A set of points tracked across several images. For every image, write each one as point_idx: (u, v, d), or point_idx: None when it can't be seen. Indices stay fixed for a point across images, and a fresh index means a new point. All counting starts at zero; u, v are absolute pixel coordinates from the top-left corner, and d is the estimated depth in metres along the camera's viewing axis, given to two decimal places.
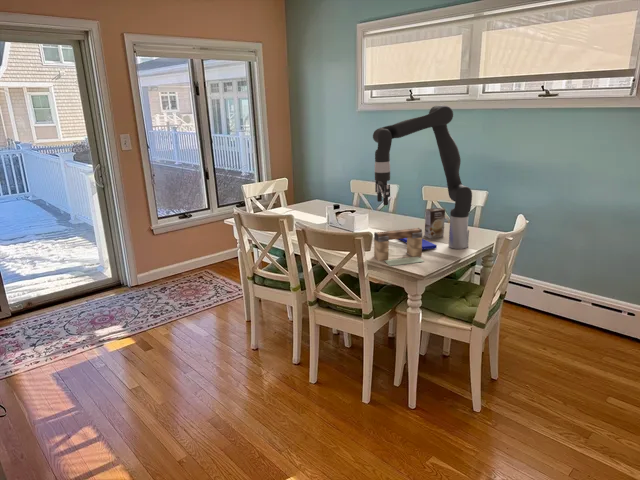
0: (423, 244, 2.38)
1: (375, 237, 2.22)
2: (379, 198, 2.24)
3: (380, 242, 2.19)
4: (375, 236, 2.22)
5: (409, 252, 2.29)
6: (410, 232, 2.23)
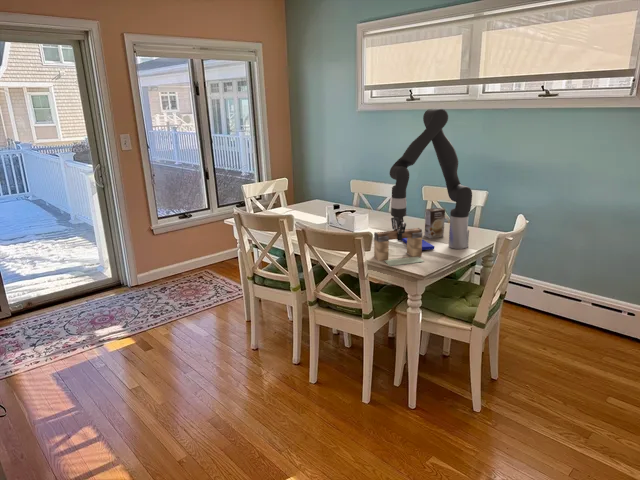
0: None
1: (375, 237, 2.22)
2: None
3: (380, 242, 2.19)
4: (375, 236, 2.22)
5: (409, 252, 2.29)
6: (410, 232, 2.23)
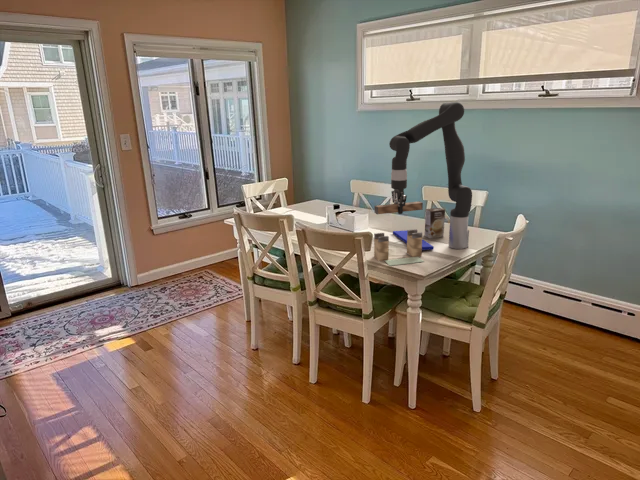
0: None
1: (375, 210, 2.18)
2: None
3: (380, 242, 2.19)
4: (375, 209, 2.17)
5: (409, 252, 2.29)
6: (411, 205, 2.19)
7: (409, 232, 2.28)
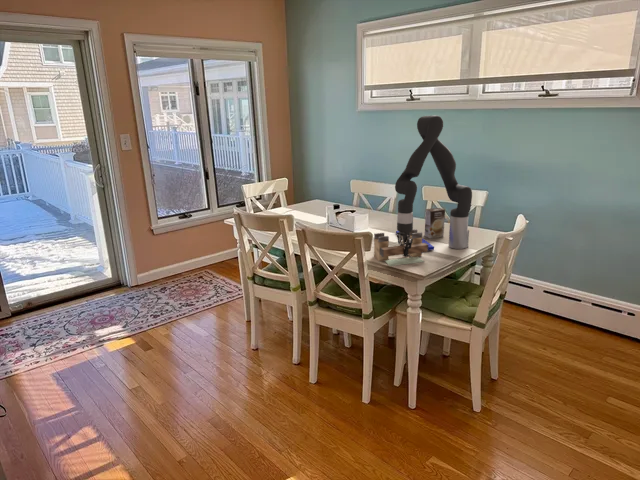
0: None
1: (380, 252, 2.16)
2: None
3: (380, 242, 2.19)
4: (380, 251, 2.16)
5: None
6: (416, 247, 2.17)
7: None
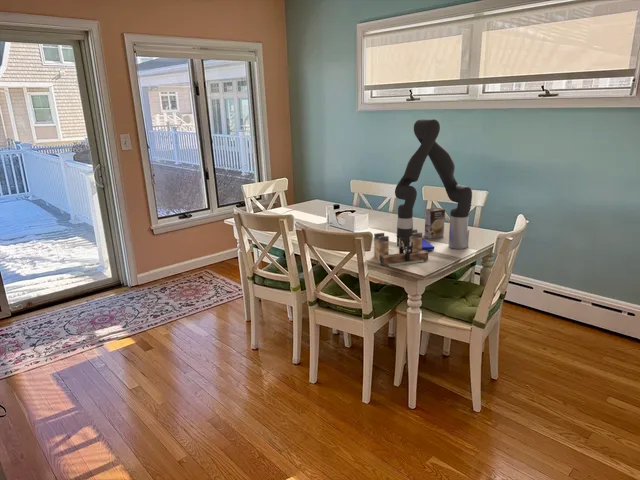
0: None
1: (381, 260, 2.17)
2: None
3: (380, 242, 2.19)
4: (381, 259, 2.17)
5: None
6: (416, 255, 2.19)
7: None
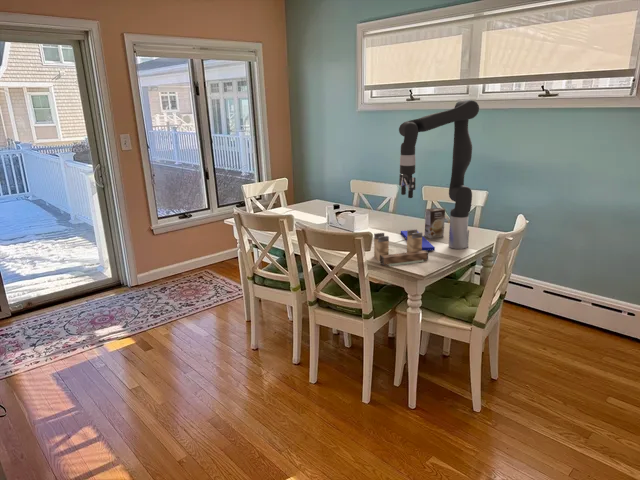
0: (422, 245, 2.36)
1: (381, 260, 2.17)
2: (403, 191, 2.26)
3: (380, 242, 2.19)
4: (381, 259, 2.17)
5: None
6: (416, 255, 2.19)
7: (409, 232, 2.28)
